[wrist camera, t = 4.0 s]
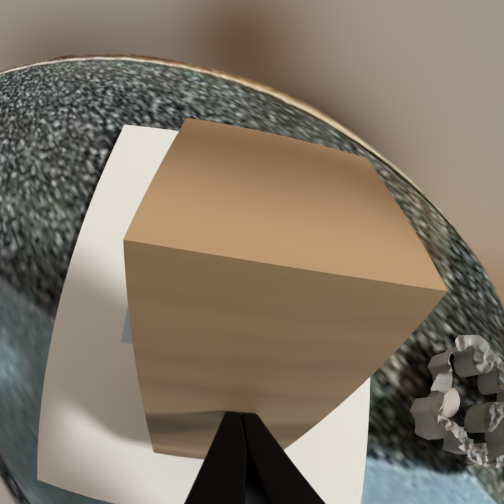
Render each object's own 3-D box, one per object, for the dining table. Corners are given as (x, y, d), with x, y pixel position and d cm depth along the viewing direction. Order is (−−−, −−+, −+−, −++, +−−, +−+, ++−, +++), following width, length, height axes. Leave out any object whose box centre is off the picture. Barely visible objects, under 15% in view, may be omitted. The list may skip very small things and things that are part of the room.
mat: (355, 506, 14) (359, 508, 13) (40, 477, 11) (36, 479, 10) (352, 172, 24) (355, 169, 24) (125, 129, 22) (124, 124, 21)
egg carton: (394, 424, 17) (436, 424, 13) (436, 333, 20) (475, 317, 17) (473, 476, 15) (511, 477, 12) (504, 397, 19) (539, 389, 15)
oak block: (265, 462, 12) (447, 291, 5) (153, 452, 12) (122, 239, 4) (262, 372, 16) (366, 158, 8) (166, 360, 15) (186, 118, 8)
